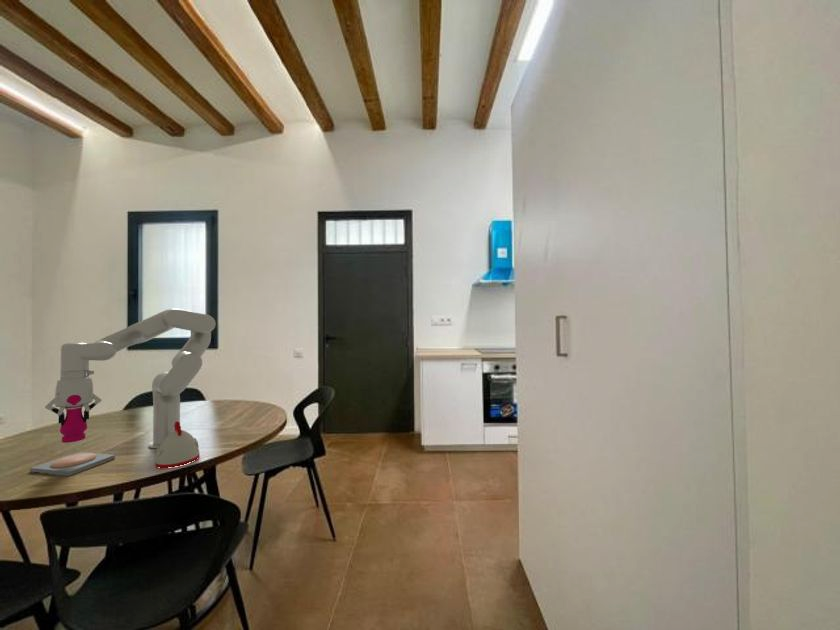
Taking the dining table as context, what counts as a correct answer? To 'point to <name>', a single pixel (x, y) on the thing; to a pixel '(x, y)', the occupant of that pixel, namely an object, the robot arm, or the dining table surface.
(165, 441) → the kitchen timer
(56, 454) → the dining table surface
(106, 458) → the slate board
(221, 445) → the dining table surface
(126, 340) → the robot arm
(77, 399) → the pepper mill
